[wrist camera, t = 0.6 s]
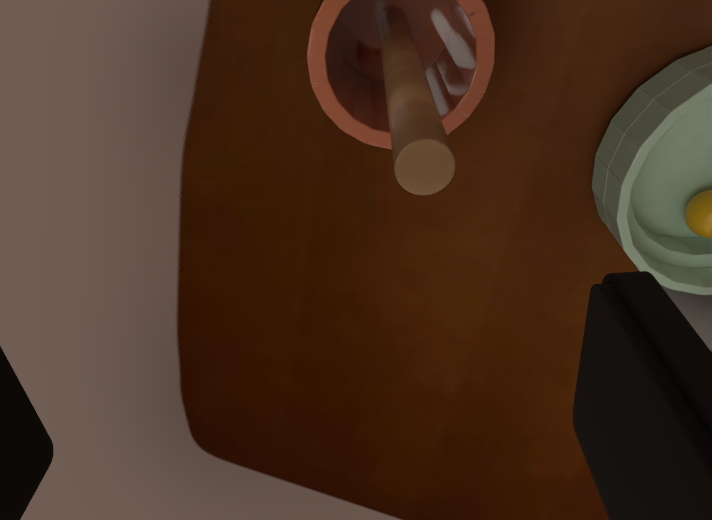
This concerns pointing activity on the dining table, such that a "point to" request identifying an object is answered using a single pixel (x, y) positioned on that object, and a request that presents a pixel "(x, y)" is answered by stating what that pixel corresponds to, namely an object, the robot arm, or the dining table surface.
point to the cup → (695, 312)
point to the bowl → (661, 173)
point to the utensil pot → (365, 70)
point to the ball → (700, 214)
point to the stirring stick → (412, 111)
